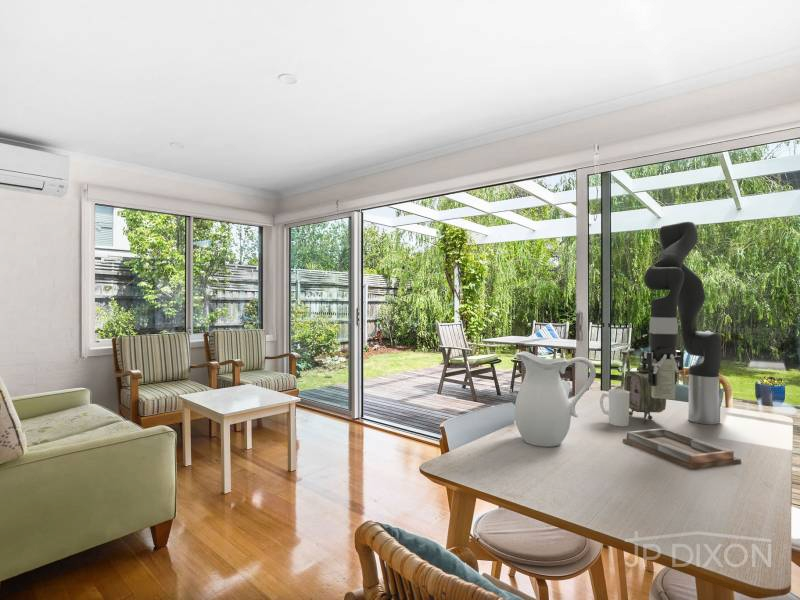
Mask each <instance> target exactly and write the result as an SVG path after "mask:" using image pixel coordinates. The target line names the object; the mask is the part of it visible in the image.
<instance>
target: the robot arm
mask: <svg viewBox="0 0 800 600" xmlns="http://www.w3.org/2000/svg"><path fill="white" fill-rule="evenodd" d="M698 233H699V232H698V228H697V225H696V224H695V223H694V222H693V221H691V220H687V221H680V222H676V223H671V224H665V225H663V226H660V228H659V240H660V244H661V247H662V252H661V254H660V255H659V257H658V260H657V261H655V262H654V263H653V264H652V265H651V266H649V267H648V269H647V270H646V271H645V274H644V277H643V281H644V286H646V288H648V289H649V290H652V291H668V293H667V295H665V296H661V297H655V298H653V299H652V300H651V301H650V319H649V339H648V340H649V342H648V344H649V346H650V348H651V349H650V351H642V356H641V360H642V363H641V365H642V370H643V371H646V372H648V383H649V385H651V386H656V385H657V374H656V373H657V371H658V369H659V368H660V367H661V366H662V364H663V362H664V360H665V359H674V360H675V386H676V385H677V383H678V373H679V372H680V371H683V370H684V362H685V361H684V360H685V359H684V357H685V356H684V354H685V353H684V351H683V350H676V349H677V348H678V340H679V338H678V334H679V333H678V330H679V328H678V327H679V325H678V319H677V318H678V316H679V320H680V328H681V333H682V334H681V335H682V340H683V346H684V347H683V348H684V350H685V352H686V353H687V354H688V355H690V356H695V357H703V361H702V362H700V363H699V364H693V365H690V366H689V368H688V410H687V411H688V414H687V415H688V417H687V419H688V421H690V422H693V423H697V424H701V425H718V424H719V423H721V396H720V395H719V394H720V393H719V392H720V391H719V390H720V385H719V383H720V382H719V379H720V370H721V362H722V361H721V359H722V358H721V357H722V349H723V347H722V345H723V344H722V343H723V342H722V338H721V336H720V334H719V333H718V332H712V331H711V332H710V331H700V330H698V327H697V317H698V315H699V313H700V312H701V310H702V308H703V305H704V304H705V301H706V294H705V289H704V285H703V280H702V278H700V276H699V275H698V274H697V273H696V272H694V270H692V269H691V268H690V267H689V266H687V265H686V264H685V263H684V261H685V259H686V258H687V256H688V255H689V254H690V253H691V251H692V250H693V249H694V248H695V246H696V245H697V243H698V240H699V234H698ZM678 314H679V315H678ZM652 358H653V359H656V361H657V362H658V363H657V364H655V363H653V364H652ZM652 366H654V369H652Z"/></svg>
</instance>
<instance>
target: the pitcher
mask: <svg viewBox="0 0 800 600" xmlns="http://www.w3.org/2000/svg"><path fill="white" fill-rule="evenodd" d="M515 357H517V358H518V359H519V360H520V361H521V362H522V363H523V365H524V367H525V374H524V378H523V380H522V383H521V385H520V387H519V389H518V393H517V395H516V399H515V403H514V421H515V424H516V428H517V430H518V432H519V435H520V436H521V437H522V440H523V441H524V442H526V443H527V444H530V445H531V446H536V447H542V448H543V447H546V448H547V447H548V448H549V447H557V446H559V445H561V444H562V443H563V441H564V440H565V438H566V437H567V436H568V432H569V430H570V427H571V420H572V419H571V418H572V417H573V418H578V417H579V416H578V415H579V414H578V413H577V411H576V405H577V403H578V401H579V400H580V399H581V398H582V397H583V396H584V394H585V393H586V392H587V391H588V390H589V389H590V387H591V386H592V384H593V383H594V382H595V379H596V375H597V373H596V372H597V370H596V367H595V365H594V363H593V362H592V360H591V359H588V358H587V357H584V356H583V357H582V356H576V357H572V358H570V359H566V358H564V357H556V358H544V357H541V356H538V355H535V354H533V353H531V352H528V351H519V352H517V353H516V354H515ZM575 363H583V364H585V365H586V366H587V367H588V368H589V377H588V379H587V381H586V383H585V384H584V386H583V387H582V388H581V389H580V390H579V392H578V393H577V394H576V395H575V396H574V397H573V399H572V400H571V402H570V400H569V397H568V394H567V391H566V389H565V386H564V384H563V382H562V379H561V375H560V373H561V374H563V375H565V373H566V369H567V367H569V366H571V365H572V364H575Z"/></svg>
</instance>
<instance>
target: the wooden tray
mask: <svg viewBox="0 0 800 600" xmlns="http://www.w3.org/2000/svg"><path fill="white" fill-rule="evenodd" d="M622 443H625V444H628V445H630V446H633V447H635V448H637V449H639V450H642V451H645V452H647V453H650V454H652V455H655V456H657V457H659V458H661V459H665V460H667V461H670V462H672V463H674V464H676V465H679V466H682V467H683V468H684V467H685V468H687V469H689V470H698V469H705V468H712V467H719V466H727V465H735V464H741V463H742V459H741V458H739V457H737V456H734V451H733V450H732V449H728V448H724V447H722V446H719V445H715V444H712V443H709V442H706V441H703V440H700V439H698V438H694V437H691V436H689V435H685V434H683V433H680V432H676V431H673V430H670V429H668V428H664V427H663V428H653V429H642V430H641V429H640V430H634V431H633V430H632V431H626V438H622Z"/></svg>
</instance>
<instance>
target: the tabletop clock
mask: <svg viewBox="0 0 800 600" xmlns="http://www.w3.org/2000/svg"><path fill="white" fill-rule="evenodd" d="M642 353H643V352H642ZM642 353H640V354H639V361H640V363H641V365H638V366H637V368H636V370H627V371H625V372H624V381H623V383H624V384H623V390H626V391H629V392H630V393H629V416H633V415H634V412H636V413H643V414H644V415H643V418H642V419H641V423H643V424H646V423H647V421H648V420H649V421H651V420H652V419H653V416H652V415H651V413H657V414H658V413H662V412H663V411H665V410H666V406H667V405H666V404H667V399H663V398H652V395H651V385H649V383H648V372H646V371H643V370H642ZM646 418H647V419H648V420H647V419H646Z"/></svg>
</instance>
